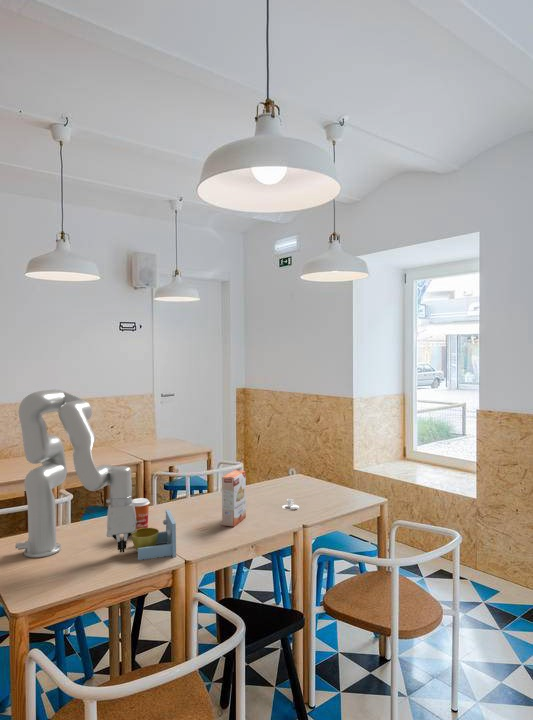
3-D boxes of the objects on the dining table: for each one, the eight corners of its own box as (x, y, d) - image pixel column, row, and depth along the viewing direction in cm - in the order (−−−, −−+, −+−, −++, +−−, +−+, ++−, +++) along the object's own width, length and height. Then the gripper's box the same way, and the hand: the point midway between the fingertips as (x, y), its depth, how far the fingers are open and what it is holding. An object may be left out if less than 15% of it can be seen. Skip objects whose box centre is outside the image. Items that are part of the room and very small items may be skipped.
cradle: (138, 561, 180) (137, 527, 180) (134, 544, 197) (134, 513, 197) (176, 556, 184) (175, 523, 184) (169, 539, 201) (168, 509, 201)
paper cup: (130, 539, 203) (129, 503, 202) (130, 532, 210) (129, 498, 210) (150, 536, 205) (150, 502, 204) (149, 530, 212) (149, 497, 212)
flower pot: (138, 559, 182) (137, 539, 182) (126, 550, 190) (126, 531, 190) (163, 552, 188) (163, 532, 188) (151, 544, 196) (151, 525, 196)
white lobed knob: (299, 511, 237) (299, 502, 237) (282, 511, 237) (282, 502, 237) (298, 505, 245) (298, 497, 245) (282, 505, 246) (281, 497, 246)
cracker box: (235, 527, 214) (234, 477, 214) (221, 526, 216) (220, 476, 216) (247, 517, 228) (246, 470, 227) (234, 516, 229) (233, 469, 229)
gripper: (99, 506, 181) (100, 557, 181) (143, 501, 185) (143, 552, 185) (99, 500, 188) (100, 550, 188) (141, 496, 192) (142, 544, 193)
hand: (122, 551), depth 187 cm, fingers closed
